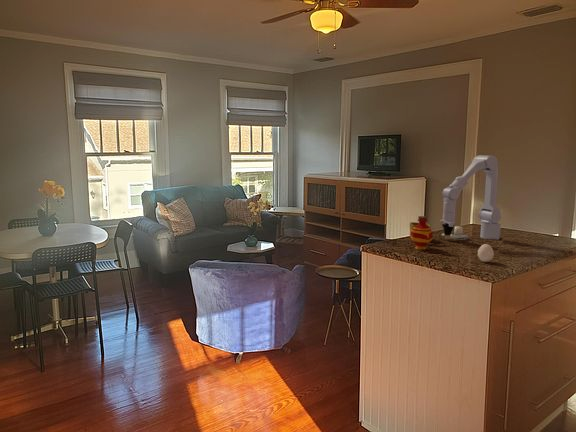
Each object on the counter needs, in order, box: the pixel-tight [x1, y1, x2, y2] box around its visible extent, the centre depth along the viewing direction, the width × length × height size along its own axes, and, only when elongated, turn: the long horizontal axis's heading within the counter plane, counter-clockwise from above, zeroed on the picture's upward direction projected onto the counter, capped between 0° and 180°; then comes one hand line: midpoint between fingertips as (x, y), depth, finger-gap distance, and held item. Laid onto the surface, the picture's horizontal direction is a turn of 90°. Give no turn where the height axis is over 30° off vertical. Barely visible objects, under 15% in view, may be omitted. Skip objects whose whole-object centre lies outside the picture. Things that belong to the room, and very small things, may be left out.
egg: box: [477, 243, 494, 263], centre depth 188 cm, size 6×6×8 cm
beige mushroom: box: [452, 225, 464, 240], centre depth 232 cm, size 6×6×6 cm
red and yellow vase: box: [409, 215, 434, 250], centre depth 210 cm, size 10×10×15 cm
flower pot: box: [409, 221, 431, 234], centre depth 226 cm, size 9×9×9 cm
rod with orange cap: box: [444, 234, 469, 240], centre depth 226 cm, size 14×2×2 cm, turn 111°
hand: (447, 238), depth 226 cm, fingers closed, pressing on rod with orange cap
